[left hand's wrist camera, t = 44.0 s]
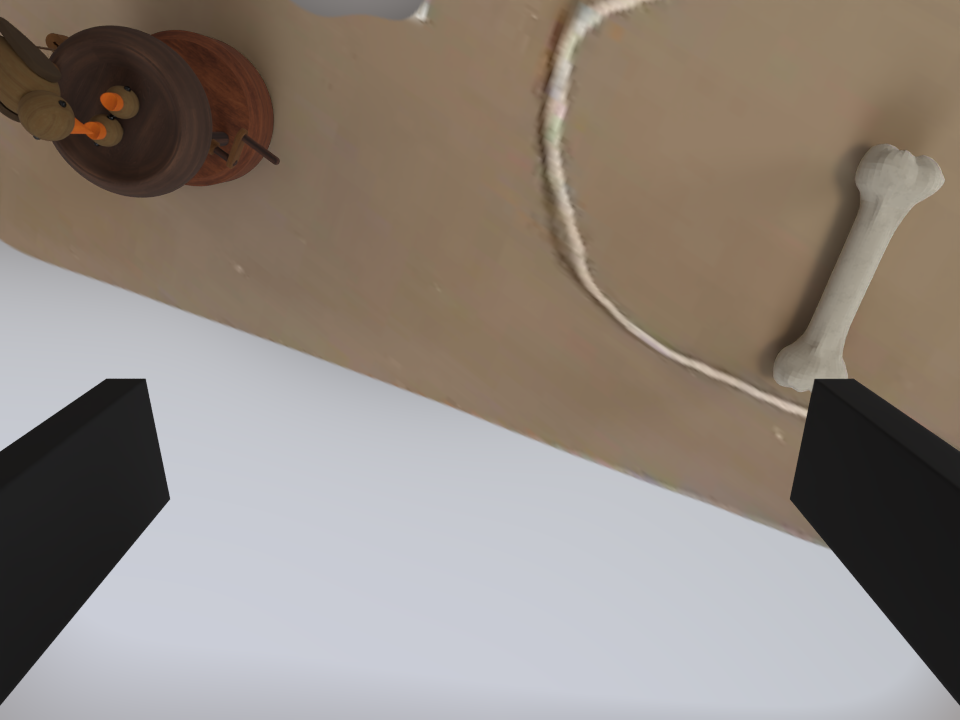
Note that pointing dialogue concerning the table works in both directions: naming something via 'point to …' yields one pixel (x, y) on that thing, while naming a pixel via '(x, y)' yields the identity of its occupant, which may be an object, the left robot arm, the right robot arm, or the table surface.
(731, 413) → the table surface
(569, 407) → the table surface
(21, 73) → the brown wooden figurine
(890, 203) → the dog toy
